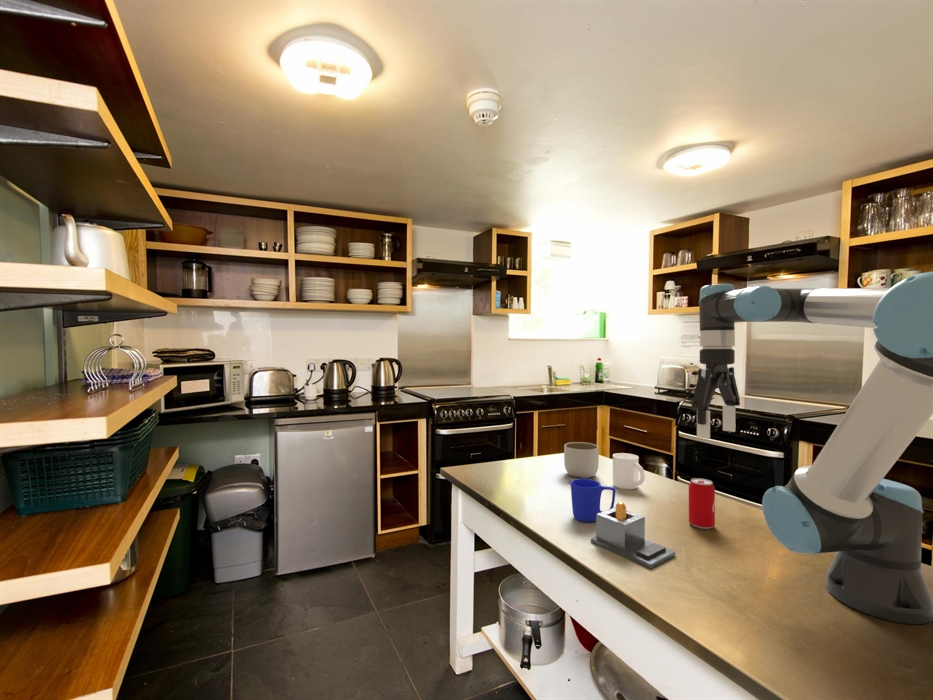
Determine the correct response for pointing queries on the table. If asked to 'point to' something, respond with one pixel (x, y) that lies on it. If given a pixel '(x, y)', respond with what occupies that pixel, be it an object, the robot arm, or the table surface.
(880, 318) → the robot arm
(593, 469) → the planter
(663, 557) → the keeper
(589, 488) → the mug
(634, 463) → the mug
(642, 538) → the hollow square tube
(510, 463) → the table surface
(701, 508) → the beverage can
